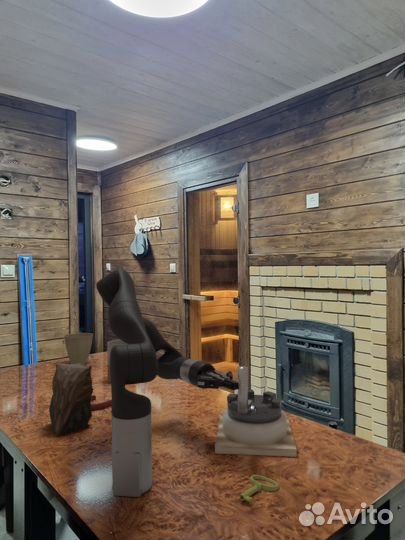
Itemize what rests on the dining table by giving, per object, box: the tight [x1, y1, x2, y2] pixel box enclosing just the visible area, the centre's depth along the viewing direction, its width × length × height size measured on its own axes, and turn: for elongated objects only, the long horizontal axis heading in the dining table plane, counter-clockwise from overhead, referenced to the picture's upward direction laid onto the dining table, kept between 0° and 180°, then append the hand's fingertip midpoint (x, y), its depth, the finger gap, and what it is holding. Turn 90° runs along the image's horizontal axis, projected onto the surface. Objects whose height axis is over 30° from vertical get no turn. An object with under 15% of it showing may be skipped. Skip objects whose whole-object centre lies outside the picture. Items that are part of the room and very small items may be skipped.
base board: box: [214, 415, 298, 458], centre depth 118 cm, size 22×22×2 cm
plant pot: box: [63, 332, 94, 366], centre depth 212 cm, size 15×15×16 cm
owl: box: [48, 362, 94, 438], centre depth 129 cm, size 13×13×20 cm
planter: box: [106, 339, 127, 383], centre depth 181 cm, size 13×13×18 cm
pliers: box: [90, 394, 112, 412], centre depth 143 cm, size 12×21×3 cm, turn 146°
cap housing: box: [222, 407, 288, 445], centre depth 118 cm, size 19×19×5 cm
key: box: [238, 474, 280, 503], centre depth 90 cm, size 7×12×2 cm, turn 159°
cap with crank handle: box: [226, 365, 283, 424], centre depth 117 cm, size 16×21×17 cm
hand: (235, 386), depth 107 cm, fingers closed
